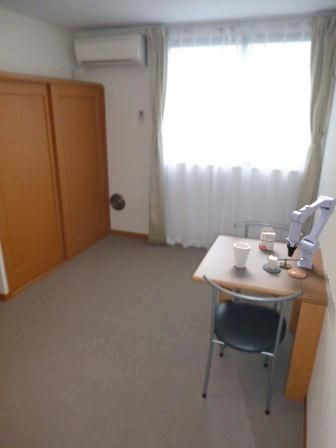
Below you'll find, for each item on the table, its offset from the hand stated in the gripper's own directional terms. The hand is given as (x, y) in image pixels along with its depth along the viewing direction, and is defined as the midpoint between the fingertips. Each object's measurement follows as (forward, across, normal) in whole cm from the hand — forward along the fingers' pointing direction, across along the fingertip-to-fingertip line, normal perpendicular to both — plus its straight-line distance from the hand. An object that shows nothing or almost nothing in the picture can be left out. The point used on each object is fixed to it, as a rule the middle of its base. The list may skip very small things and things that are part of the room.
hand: (290, 254), depth 188 cm
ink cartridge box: (+10, -27, -16) cm, 33 cm away
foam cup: (+11, +8, -27) cm, 30 cm away
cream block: (+10, +3, -9) cm, 13 cm away
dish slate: (+10, +3, -9) cm, 14 cm away
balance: (+10, -5, -2) cm, 12 cm away
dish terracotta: (+10, +3, +5) cm, 12 cm away
